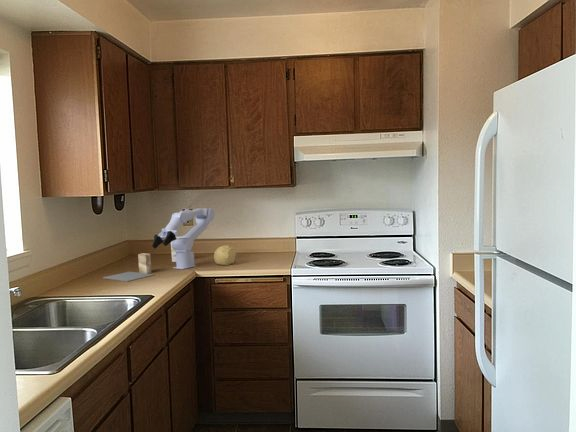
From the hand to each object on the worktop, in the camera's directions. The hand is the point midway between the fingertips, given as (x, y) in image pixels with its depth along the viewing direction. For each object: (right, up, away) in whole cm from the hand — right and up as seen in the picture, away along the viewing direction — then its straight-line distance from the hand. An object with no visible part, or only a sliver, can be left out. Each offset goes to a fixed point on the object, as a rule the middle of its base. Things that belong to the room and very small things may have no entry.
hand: (158, 245), depth 251 cm
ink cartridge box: (+1, -12, +43) cm, 45 cm away
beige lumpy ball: (+30, -12, +24) cm, 41 cm away
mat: (-15, -16, 0) cm, 22 cm away
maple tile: (-9, -15, +9) cm, 19 cm away
